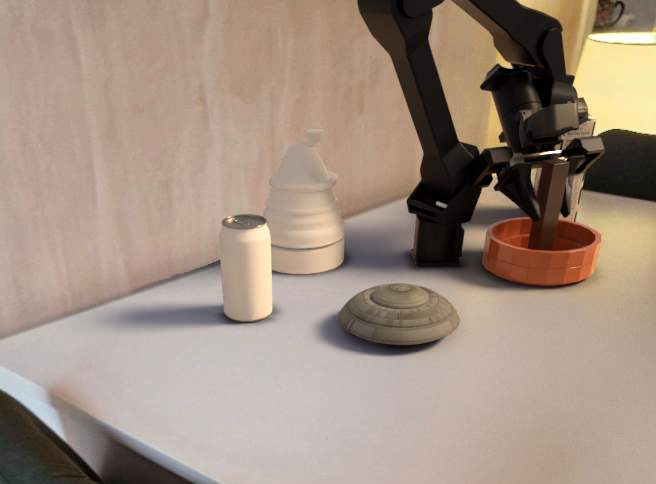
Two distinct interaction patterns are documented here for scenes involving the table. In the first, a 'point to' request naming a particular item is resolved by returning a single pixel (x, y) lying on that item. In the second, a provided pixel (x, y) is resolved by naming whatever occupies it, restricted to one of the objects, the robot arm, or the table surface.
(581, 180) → the candy bar box
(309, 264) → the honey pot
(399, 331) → the flying saucer
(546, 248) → the stick
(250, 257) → the can
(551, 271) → the bowl
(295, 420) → the table surface
